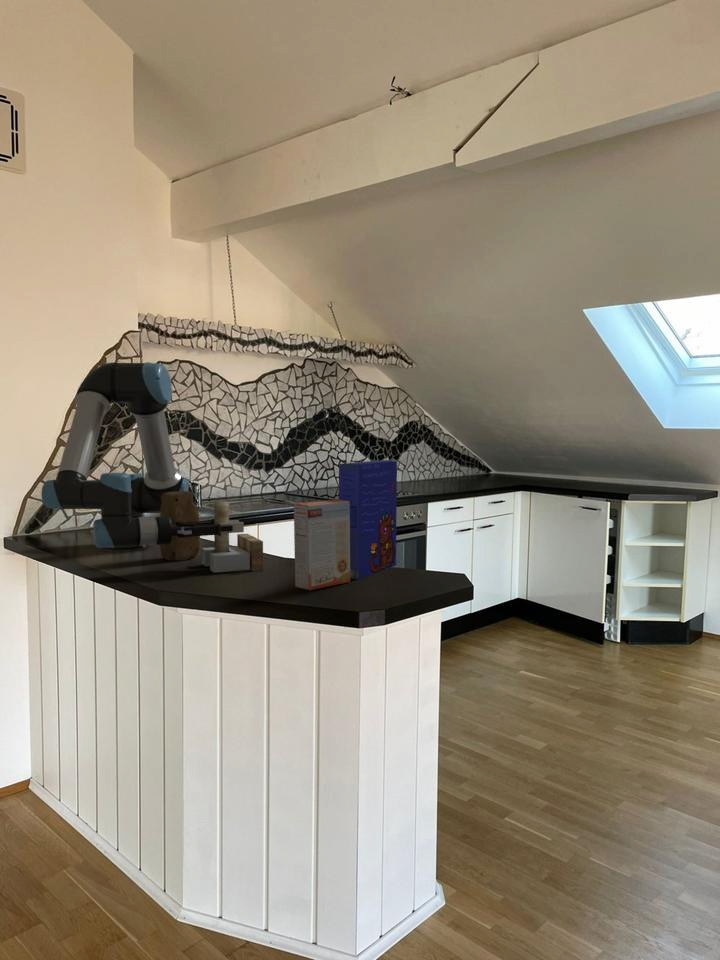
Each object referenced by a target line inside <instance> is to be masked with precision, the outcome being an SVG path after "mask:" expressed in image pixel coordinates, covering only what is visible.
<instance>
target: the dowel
mask: <svg viewBox="0 0 720 960" xmlns="http://www.w3.org/2000/svg"><path fill="white" fill-rule="evenodd" d="M213 505H214V506H213V507H214V508H213V509H214V513H213V514H214V515H213V516H214V518H213V519H214V524H220V523H229V521H230V502H229V501H224V500H223V501H221V500H220V501H214V504H213ZM213 536H214V538H213V539H214V540H213V542H214V545H213V546H214V553H225V552H229V546H230V533H222V534H221V536H218V535H213Z"/></svg>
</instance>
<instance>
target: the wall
mask: <svg viewBox="0 0 720 960" xmlns="http://www.w3.org/2000/svg"><path fill="white" fill-rule="evenodd" d="M236 538H237V541H236V542H237V545H236V546H238V547H240V548H241V549H243V550H245V551H247V552H248V553H250V571H252V572H257V571H264V541H263V540H261V539H260V538H256V537H255V536H254V535H251V534H249V533H238V534H237V537H236Z"/></svg>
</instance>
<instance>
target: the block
mask: <svg viewBox="0 0 720 960" xmlns="http://www.w3.org/2000/svg"><path fill="white" fill-rule="evenodd" d="M193 496H194V495H193V492H192V491H189V490H188V491H178V492H168V493H164V494H162V496H161V501H162V504H161V510H160V513H159V517H161V516H169V517H170V519H171V522H172V524H175V522H178V521H181V522H195V521H201V519H200V514H199V511H198V509H197V505H196V504H195V503H194V500H193ZM159 547H160V554H161V557H162V558H163V559H165V560H166V561H169V562H171V561H174V562H176V561H178V562H179V561H186V560H190V559H194V558H196V557H197V556H198V554H199V551H200V548H201V536H193V537H187V538H185V537H184V538H178V536H172V541H171V543H170V544H164V545H160V546H159Z"/></svg>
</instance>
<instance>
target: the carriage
mask: <svg viewBox="0 0 720 960" xmlns="http://www.w3.org/2000/svg"><path fill="white" fill-rule="evenodd" d="M201 564H202V565H203V566H204V567H209V570H210V571H211V572H212V573H224V572H239V571H249V570H250V553H248V552H247V551H245V550H243V549H241V548H240V547H238V546H237V545H229V552H225V553H214V547H202V548H201ZM250 571H251V570H250Z"/></svg>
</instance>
